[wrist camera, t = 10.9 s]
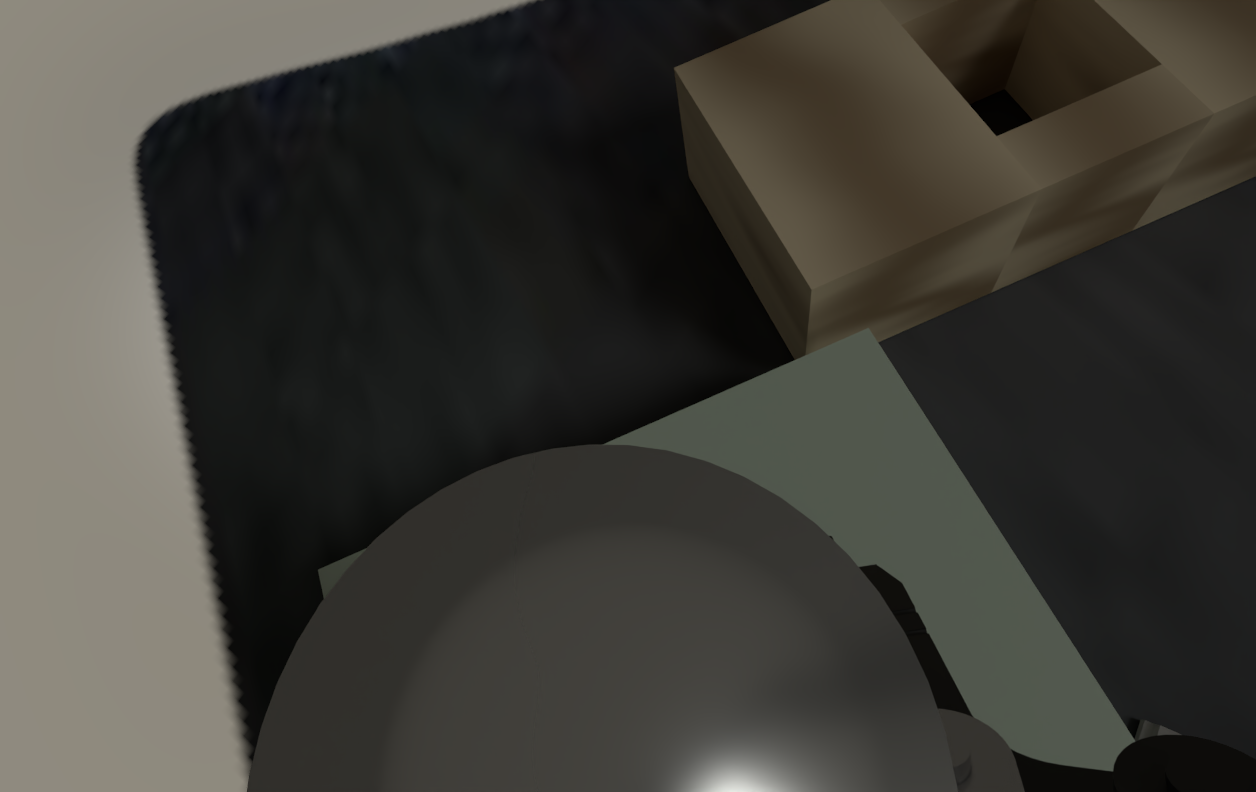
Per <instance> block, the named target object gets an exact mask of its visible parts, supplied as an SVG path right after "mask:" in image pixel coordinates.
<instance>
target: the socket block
mask: <svg viewBox="0 0 1256 792" xmlns="http://www.w3.org/2000/svg"><path fill="white" fill-rule="evenodd" d="M603 445H632V446H639V447H646V448H653V449H661V450H668V451H671V452H675V453H679V454H682V455H686V456H690V457H693V458H697V459H701V460H704V461H707V462H710V463H712V464H715V465H717V466H720V467H722V468H724V469H727V470H729V471H732V472H734V473H737V474H739V475H741V476H744V477H746V478H747V479H749V480H751V481H753V482H754V483H756V484H758V485H760V486H761V487H763V488H765V489H767V490H768V491H770V492H772V493H774V494H776V495H777V496H779V497H781V498H782V499H783V500H785V501H786V502H788V503H789V504H790V505H792V506H793V507H794V508H796V509H797V510H798V511H800V512H801V513H802V514H804V515H805V516H806V517H808V518H809V519H810V520H812V521H813V522H814V523H816V524H817V525H818V526H819V527H820V528H821V529H822V530H823V531H824V532H825V533H826V534H827V535H828V536H832V537H833V539H834V541H835V542H836V543H837V544H838V545H839V546H840V547H841V548H842V549H843V550H844V551H845V552H846V553H847V554H848V555H849V556H850V557H851V558H852V560H853V561H854V562H855V563H856V565H857V566H858V567H862V566H868V565H875V564H877V565H878V566H879V567H881V568H882V569H884V570H885V571H886V572H888V573H889V574H890V575H892V576H893V577H895V578H896V579H897V580H899V581H900V582H902V583H903V585H904V587H905V589H906V591H907V593H908V595H909V597H910V599H911V601H912V602H913V604H914V606H915V609H916V613H917V612H918V614H919V616H920V618H921V619H922V621H923V623H924V625H925V627H926V631H927V634H928V633H929V635H930V637H931V638H932V640H933V642H934V644H935V646H936V648H937V650H938V652H939V654H940V655H941V657H942V659H943V661H944V663H945V665H946V667H947V669H948V671H949V673H950V674H951V676H952V678H953V680H954V682H955V684H956V686H957V688H958V690H959V691H960V693H961V695H962V697H963V699H964V701H965V703H966V705H967V707H968V708H969V710H970V712H971V714H972V716H973V717H974V718H976V719H978V720H980V721H981V722H983V723H985V724H987V725H988V726H990V727H991V728H992V729H993V730H995V731H996V732H997V733H998V734H999V735H1000V736H1001V737H1002V738H1003V739H1004V740H1005V741H1006V743H1007V744H1008V746H1009V747H1010V749H1012V750H1014V751H1016V752H1018V753H1020V754H1023V755H1025V756H1028V757H1030V758H1033V759H1037V760H1040V761H1044V762H1048V763H1054V764H1059V765H1066V766H1074V767H1082V768H1089V769H1097V770H1105V771H1113V768H1114V763H1115V761H1116V759H1117V756H1118V755H1119V754H1120V753H1121V751H1122V750H1123V749H1124V748H1126V747H1127V746H1128V745H1130V744H1131V743H1133V742H1135V740H1134V738H1133V737H1132V735H1131V734H1130V732H1129V731H1128V729H1127V727H1126V726H1125V724H1124V723H1123V721H1122V720H1121V718H1120V717H1119V715H1118V714H1117V712H1116V710H1115V709H1114V707H1113V706H1112V704H1111V703H1110V701H1109V700H1108V698H1107V697H1106V695H1105V693H1104V692H1103V690H1102V689H1101V687H1100V686H1099V684H1098V683H1097V681H1096V679H1095V678H1094V676H1093V675H1092V673H1091V672H1090V670H1089V669H1088V667H1087V666H1086V664H1085V662H1084V661H1083V659H1082V658H1081V656H1080V655H1079V653H1078V652H1077V650H1076V648H1075V647H1074V645H1073V644H1072V642H1071V641H1070V639H1069V638H1068V636H1067V635H1066V633H1065V631H1064V630H1063V628H1062V627H1061V625H1060V624H1059V622H1058V621H1057V619H1056V618H1055V616H1054V614H1053V613H1052V611H1051V610H1050V608H1049V607H1048V605H1047V604H1046V602H1045V600H1044V599H1043V597H1042V596H1041V594H1040V593H1039V591H1038V590H1037V588H1036V587H1035V585H1034V583H1033V582H1032V580H1031V579H1030V577H1029V576H1028V574H1027V573H1026V571H1025V569H1024V568H1023V566H1022V565H1021V563H1020V562H1019V560H1018V559H1017V557H1016V556H1015V554H1014V552H1013V551H1012V549H1011V548H1010V546H1009V545H1008V543H1007V542H1006V540H1005V539H1004V537H1003V535H1002V534H1001V532H1000V531H999V529H998V528H997V526H996V525H995V523H994V521H993V520H992V518H991V517H990V515H989V514H988V512H987V511H986V509H985V508H984V506H983V504H982V503H981V501H980V500H979V498H978V497H977V495H976V494H975V492H974V491H973V489H972V487H971V486H970V484H969V483H968V481H967V480H966V478H965V477H964V475H963V473H962V472H961V470H960V469H959V467H958V466H957V464H956V463H955V461H954V460H953V458H952V456H951V455H950V453H949V452H948V450H947V449H946V447H945V446H944V444H943V442H942V441H941V439H940V438H939V436H938V435H937V433H936V432H935V430H934V429H933V427H932V425H931V424H930V422H929V421H928V419H927V418H926V416H925V415H924V413H923V412H922V410H921V408H920V407H919V405H918V404H917V402H916V401H915V399H914V398H913V396H912V394H911V393H910V391H909V390H908V388H907V387H906V385H905V384H904V382H903V381H902V379H901V377H900V376H899V374H898V373H897V371H896V370H895V368H894V367H893V365H892V363H891V362H890V360H889V359H888V357H887V356H886V354H885V353H884V351H883V350H882V348H881V346H880V345H879V343H878V342H877V340H876V339H875V337H874V336H873V334H872V333H871V331H870V329H869V328H867V329H865V330H862V331H860V332H858V333H856V334H853V335H851V336H849V337H846V338H844V339H842V340H840V341H837V342H835V343H833V344H830V345H828V346H826V347H824V348H821V349H819V350H817V351H815V352H812V353H810V354H808V355H805V356H803V357H801V358H799V359H796V360H794V361H792V362H790V363H787V364H785V365H783V366H780V367H778V368H776V369H774V370H771V371H769V372H767V373H764V374H762V375H760V376H758V377H755V378H753V379H751V380H749V381H746V382H744V383H742V384H739V385H737V386H735V387H733V388H730V389H728V390H726V391H724V392H721V393H719V394H717V395H714V396H712V397H710V398H708V399H705V400H703V401H701V402H698V403H696V404H694V405H692V406H689V407H687V408H685V409H683V410H680V411H678V412H676V413H673V414H671V415H669V416H667V417H664V418H662V419H660V420H658V421H655V422H653V423H651V424H648V425H646V426H644V427H642V428H639V429H637V430H635V431H632V432H630V433H628V434H626V435H623V436H621V437H619V438H617V439H614V440H612V441H610V442H607V443H605V444H603ZM366 549H367V548H366ZM366 549H364V550H362V551H359V552H357V553H355V554H353V555H350V556H348V557H346V558H343V559H341V560H339V561H337V562H334V563H332V564H330V565H328V566H325V567H323V568H321V569H318V573H319V578H320V582H321V587H322V592H323V597H324V598H325V597H326V596H327V594H328V593H329V592H330V590H331V589H332V588H333V586H334V585H335V584H336V583H337V581H338V580H339V579H340V577H341V576H342V575H343V573H344V572H345V571H346V570H347V568H348V567H349V566H350V565H351V564H352V563H353V562H354V561H355V560H356V559H357V558H358V557H359V556H360V555H361V554H362V553H363V552H364V551H365V550H366Z"/></svg>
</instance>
